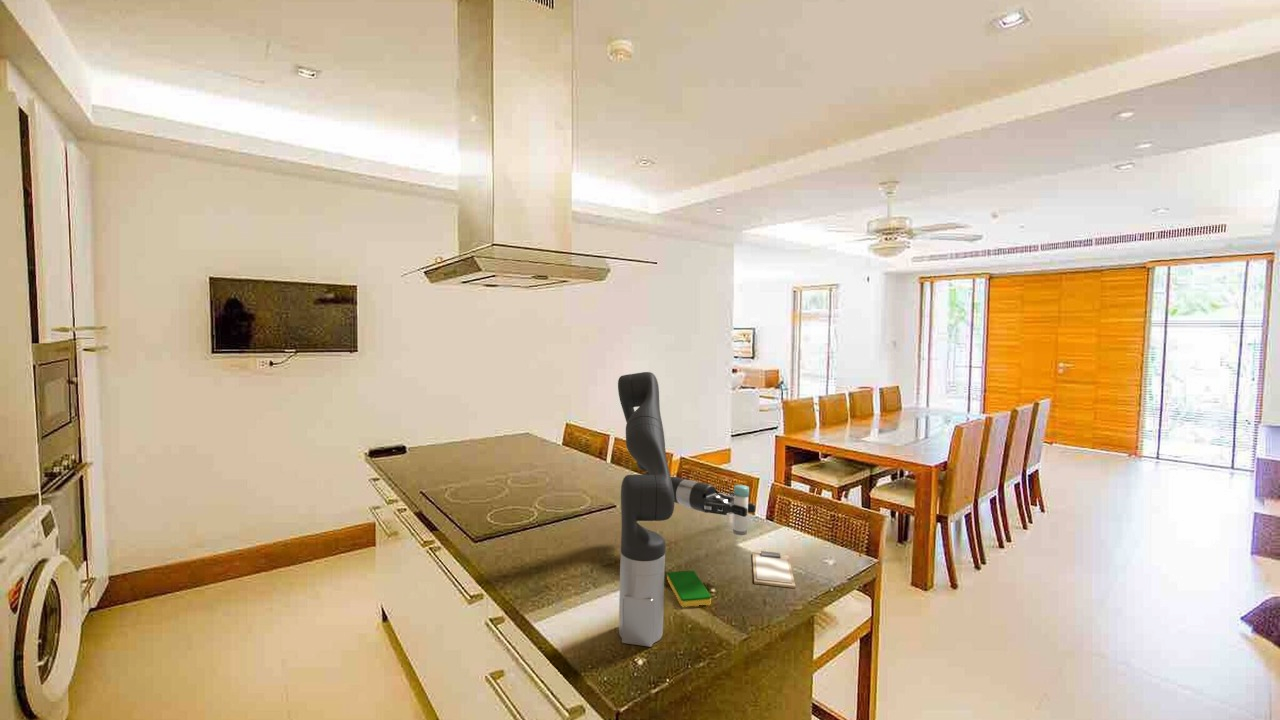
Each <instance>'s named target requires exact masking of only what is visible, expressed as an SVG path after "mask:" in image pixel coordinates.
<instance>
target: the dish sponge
mask: <svg viewBox="0 0 1280 720" xmlns="http://www.w3.org/2000/svg"><path fill="white" fill-rule="evenodd" d="M667 580H668V581H667ZM666 581H667V582H668V584H669V586H670V588H671V589H672V591H673V594H674V593H675V594H674V596H675V595H676V596H675V598H676V597H677V598H676V599H677V601H678V603H679V605H680V606H682V607H681V608H688V607H687V606H694V607H700V606H699V605H706V606H711V605H712V595H711V594H710V592H709V591H708V590H707V588H706V587H705V585H704V584H703V582H702V580H701V579H700V578H699V576H698V575H697V573H696V572H695V570H681V571H669V572H667V577H666ZM710 604H711V605H710ZM684 606H685V607H684Z"/></svg>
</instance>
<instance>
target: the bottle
mask: <svg viewBox="0 0 1280 720" xmlns="http://www.w3.org/2000/svg"><path fill="white" fill-rule="evenodd" d="M733 493H734V505H738V506H742V507H746V508H747V516H745V517H743V516H740V515H737V514H733V520H732V521H733V523H732V533H733V534H734V535H738V536H746V535H747V534H748V522H749V521H748V520H749V519H748V518H749V517H748V515H749V512H748V502H749V496H750V487H749V485H748V486H747V485H743V484H735V485H734V486H733Z"/></svg>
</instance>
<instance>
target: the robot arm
mask: <svg viewBox="0 0 1280 720" xmlns="http://www.w3.org/2000/svg"><path fill="white" fill-rule="evenodd" d="M659 389H660V387H659V381H658V379H657V376H656V375H655V374H654V373H653V372H651V371H644V372H643V371H642V372H636V373H629V374H623V375H620V376H619V378H618V380H617V391H618V393H617V394H618V397H619V402H620V405H621V409H622V412H623V415H624V418H625V422H626V425H625V446H626V449H627V450H628V452H629V454H630V455H631V457H632V458H633V459H634V461H635V462H636V464H637V468H639V470H641V471H643V472H645V473H644V474H627V475H625V476H624V477H623V480H622V482H621V486H620V487H621V488H620V511H621V512H620V514H621V515H620V516H621V517H620V518H621V537H620V538H621V541H620V562H619V563H620V565H619V566H620V567H619V568H620V569H619V599H618V601H619V602H618V604H619V605H618V634H619V637H620V638H621V643H622V644H629V645H637V646H641V647H642V646H643V647H650V648H651V647H653V645H654V643H656V642H658V641H660V640H661V638H662V637H663V634H664V606H665V605H664V604H665V603H664V602H665V600H664V599H665V568H666V565H665V564H666V563H665V562H666V541H665V537H663V536H662V535H661V534H659V533H658V532H655V531H652V530H650V529H647V528H645V527H643V526H642V525H641V524H639V523H638V522H654V521H655V522H660V521H661V522H663V521H666V520H669V519H670V518H672V516H673V513H674V510H675V503H676V504H678V505H682V506H684V507H686V508H690V509H692V510H696V511H699V512H702V513H705V514H716V515H723V516H727V515H728V514H729V515H734V514H737V515H740V516H743V517H745V516H747V508H746V507H742V506H738V505H734V491H733V492H732V491H731V492H730V493H729V494H726V493H724V492H718V491H717V488H716V487H715V486H714V485H712V484H708V483H705V482H701V481H697V480H691V479H685V478H681V477H678V476H671V473H670V469H669V465H668V460H667V454H666V443H665V441H666V439H665V433H664V427H663V426H664V425H663V421H662V416H661V408H660V390H659ZM634 408H637V409H634ZM748 513H751V514H753V513H756V504H755V503H751V502H749V501H748Z"/></svg>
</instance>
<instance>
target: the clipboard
mask: <svg viewBox="0 0 1280 720" xmlns="http://www.w3.org/2000/svg"><path fill="white" fill-rule="evenodd" d="M752 569H753V582H754V583H753V584H755V585H756V584H757V585H763V586H764V585H765V586H772V587H781V588H791V589H796V583H795V579H794V574H793V570H792V565H791V561H790V556H789V555H785V554H784V555H783V554H781V552H773V551H765V550H763V551H762V550H761V551H760V552H753V551H752Z"/></svg>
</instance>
